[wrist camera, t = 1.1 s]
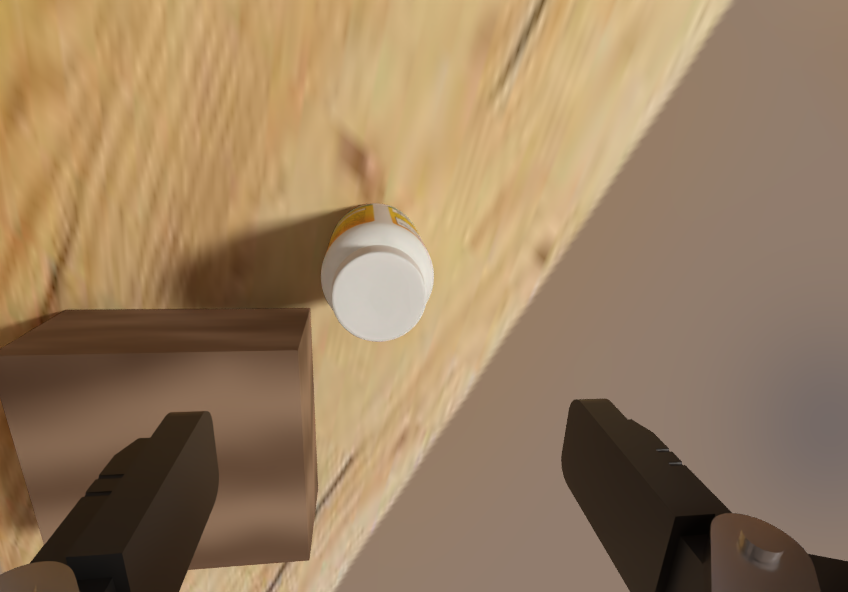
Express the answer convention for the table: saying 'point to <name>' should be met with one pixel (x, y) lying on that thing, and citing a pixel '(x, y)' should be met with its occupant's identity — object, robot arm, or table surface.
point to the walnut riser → (173, 392)
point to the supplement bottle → (377, 273)
